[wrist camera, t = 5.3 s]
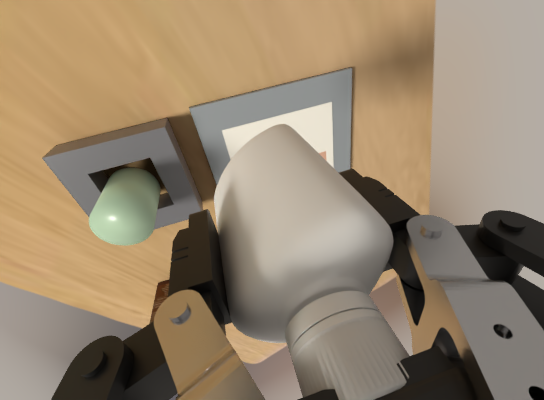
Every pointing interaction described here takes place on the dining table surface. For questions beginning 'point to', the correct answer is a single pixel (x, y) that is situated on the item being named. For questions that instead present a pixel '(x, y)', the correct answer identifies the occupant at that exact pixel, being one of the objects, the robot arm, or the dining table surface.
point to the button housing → (122, 150)
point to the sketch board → (281, 118)
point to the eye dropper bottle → (307, 265)
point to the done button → (126, 207)
